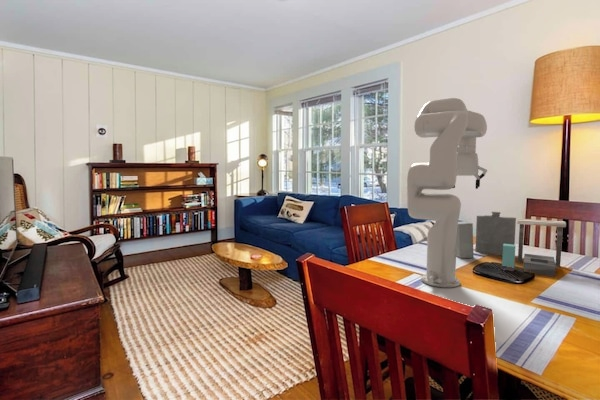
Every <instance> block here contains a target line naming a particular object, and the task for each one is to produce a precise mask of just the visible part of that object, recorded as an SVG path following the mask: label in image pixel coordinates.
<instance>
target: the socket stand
mask: <svg viewBox="0 0 600 400" xmlns="http://www.w3.org/2000/svg"><path fill="white" fill-rule="evenodd" d="M516 223H517V225H519V231H518V232H519V234H518V251H517V252H518V253H517V262H518V263H523V266H522V267H523V269H525V270H529V271H531V272H534V273H535V274H534V275H539V276H547V277H553V278H554V277H555V278H556V270H557V268H561V261H562V259H561V258H562V257H561V256H562V246H563V245H562V243H563V229H564V228H566V227H567V222H566V221H562V220H561V221H560V220H550V219H549V220H548V219H547V220H545V219H533V218H532V219H531V218H517V220H516ZM525 225H530V226H542V227H555V228H557V231H556V232H557V233H556V234H557V235H556V236H557V237H556V248H555V257H554V256H549V255H539V254H531V253H524V254H523V249H524V248H523V247H524V232H525V230H524V229H525ZM523 255H524V256H523ZM523 269H522V270H523Z"/></svg>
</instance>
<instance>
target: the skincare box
mask: <svg viewBox="0 0 600 400" xmlns="http://www.w3.org/2000/svg"><path fill="white" fill-rule="evenodd" d="M473 225H474V224H473V223H472V222H468V221H465V220H464V221H463V220H462V221H458V226H457V244H456V258H460V259H464V258H465V259H474V258H475V257H474V232H473V230H474V227H473Z"/></svg>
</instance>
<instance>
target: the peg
mask: <svg viewBox="0 0 600 400" xmlns="http://www.w3.org/2000/svg"><path fill="white" fill-rule="evenodd" d="M501 256H502V258H501V260H502V261H501V267H502V266H507V267H512V268H514V269H515V262H516V261H515V260H516V259H515V258H516V244H515V245H513V244H503V255H501Z"/></svg>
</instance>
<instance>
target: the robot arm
mask: <svg viewBox="0 0 600 400" xmlns="http://www.w3.org/2000/svg"><path fill="white" fill-rule="evenodd" d="M487 130H488V125H487V121H486V118H485V117H484V115H483V114H481V113H478V112H474V111H472V110H468V109H467V105H466V104H465V102H464V101H463V100H462V99H460V98H455V97H451V98H443V99H441V98H440V99H433V100H430V101H428V102H426V103H425V104H424V105H423V107H422V108H421V109H420V111H419V112H418V114H417V116H416V119H415V120H414V132H415V134H416V135H417V136H418V138H419V137H420V138H425V139H426V138H435V140H434V141H433V142H432V144H431V146H430V148H429V161H428V162H415V163H413V164H412V165H410V167H409V168H408V171H407V178H406V179H407V181H406V185H407V186H406V190H407V192H406V196H407V197H406V199H407V214H408V215H409V217H410V218H412V219H414V220H415V219H416V220H428V221H435V223H433V225H431V227H430V228H429V229H428V232H427V237H426V238H427V239H426V246H427V247H426V274H423V275H422V276H421V280H422V282H423V283H425V284H427V285H429V286H431V287H437V288H444V289H446V288H449V289H450V288H456V287H459V286H460V285H461V280H460V279H459V278H458V277H456V269H457V268H456V267H457V256H456V244H457V226H458V222H459V219H460V213H461V207H462V203H461V199H460V198H459V197H458V196H456V195H454V194H451V193H442V192H441V193H439V192H438V193H437V192H436V193H435V192H430V193H429V192H422V191H423V190H426V191H427V190H428V191H432V190H433V191H446V190H447V191H448V190H451V189H455V188H456V183H457V176H460V177H461V176H463V177H466V176H468V177H469V176H471V177H472V176H473V177H475V190H477V189H479V188H480V186H481V180H482V178H484V177H485V176H486V174H487V173H488V169H486V168H484V167H481V166H480V165H479V156H478V153H476V150H477V138H482V137H484V136H485V135H486V133H487ZM479 171H482V173H481V174H480V175H479Z"/></svg>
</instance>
